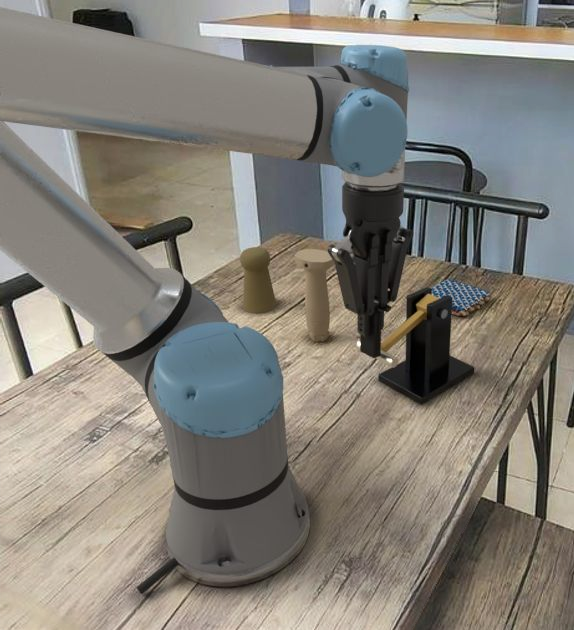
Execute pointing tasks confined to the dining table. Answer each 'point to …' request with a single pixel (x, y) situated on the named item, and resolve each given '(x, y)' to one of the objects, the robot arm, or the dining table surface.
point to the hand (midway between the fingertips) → (370, 353)
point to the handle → (316, 291)
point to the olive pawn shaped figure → (257, 281)
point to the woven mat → (461, 296)
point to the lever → (403, 331)
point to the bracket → (427, 353)
